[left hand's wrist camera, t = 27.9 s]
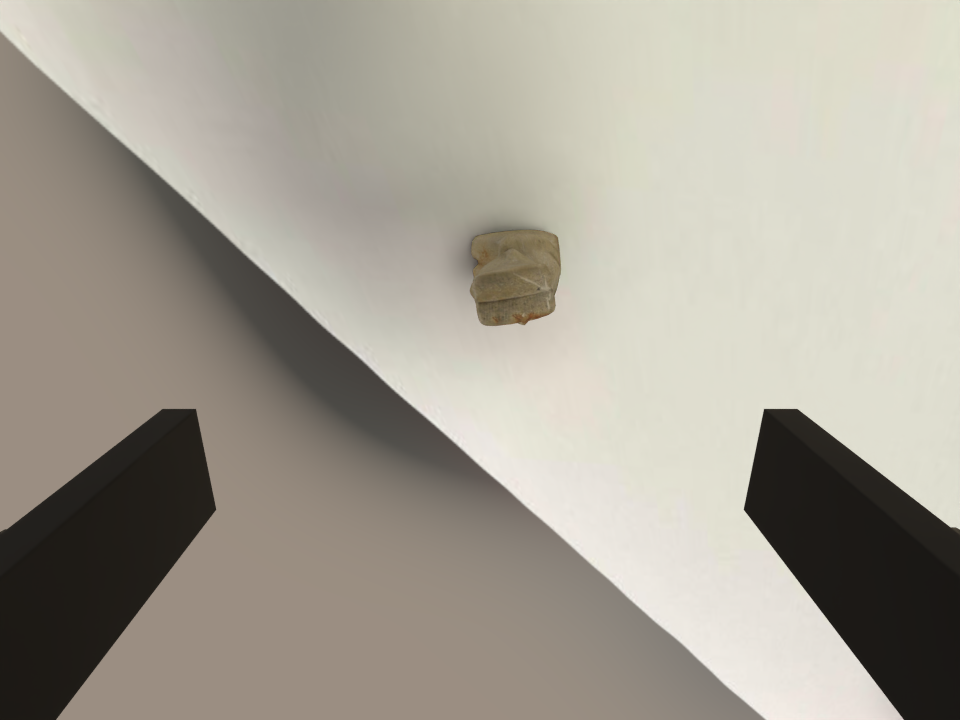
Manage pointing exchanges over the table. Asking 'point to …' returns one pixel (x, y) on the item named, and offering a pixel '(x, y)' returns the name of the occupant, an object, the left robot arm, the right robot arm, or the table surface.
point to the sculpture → (515, 276)
